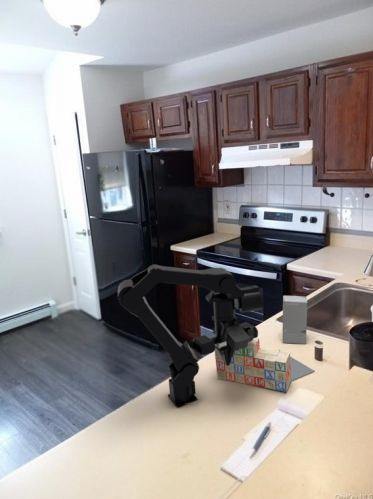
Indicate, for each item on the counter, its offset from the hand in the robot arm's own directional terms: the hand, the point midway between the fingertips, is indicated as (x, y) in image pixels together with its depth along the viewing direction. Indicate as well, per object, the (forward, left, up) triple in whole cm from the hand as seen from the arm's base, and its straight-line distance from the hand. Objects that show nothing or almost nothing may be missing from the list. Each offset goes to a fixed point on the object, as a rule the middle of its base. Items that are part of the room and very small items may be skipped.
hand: (227, 365), depth 107 cm
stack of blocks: (+9, 0, -8) cm, 12 cm away
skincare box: (+37, +12, -8) cm, 40 cm away
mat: (+20, +1, -8) cm, 22 cm away
